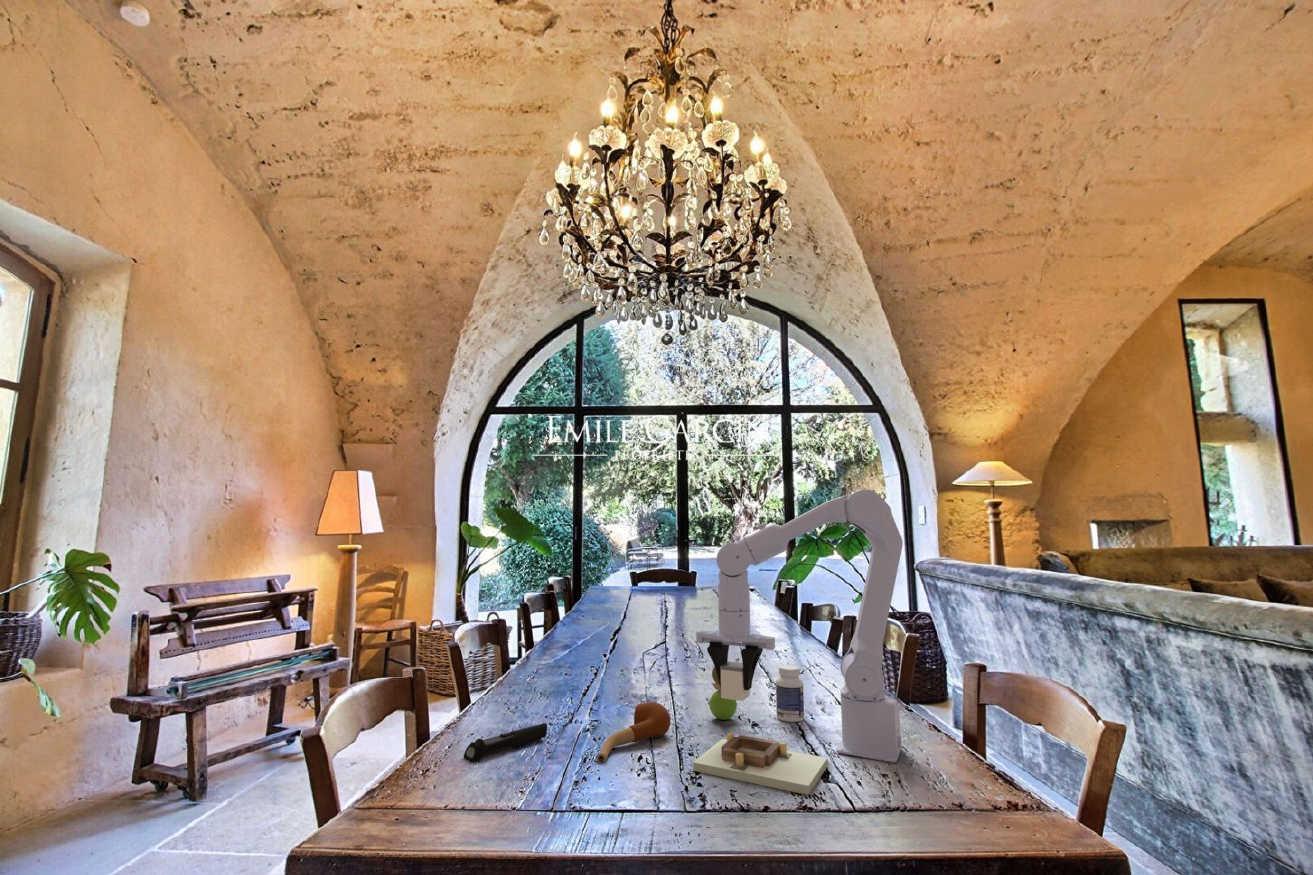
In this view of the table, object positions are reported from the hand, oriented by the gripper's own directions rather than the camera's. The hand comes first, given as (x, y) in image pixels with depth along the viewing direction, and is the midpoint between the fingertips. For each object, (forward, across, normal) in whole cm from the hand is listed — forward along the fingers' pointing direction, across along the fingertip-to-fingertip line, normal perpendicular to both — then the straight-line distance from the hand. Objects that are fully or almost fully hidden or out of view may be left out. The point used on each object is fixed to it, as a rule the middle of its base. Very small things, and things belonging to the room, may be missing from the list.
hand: (735, 687), depth 109 cm
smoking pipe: (+9, -14, -10) cm, 20 cm away
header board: (+9, +8, -10) cm, 16 cm away
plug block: (+2, 0, 0) cm, 2 cm away
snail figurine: (+9, -6, +10) cm, 15 cm away
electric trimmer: (+9, -33, -23) cm, 41 cm away
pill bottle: (+9, +5, +17) cm, 20 cm away
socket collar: (+8, +6, -9) cm, 13 cm away
